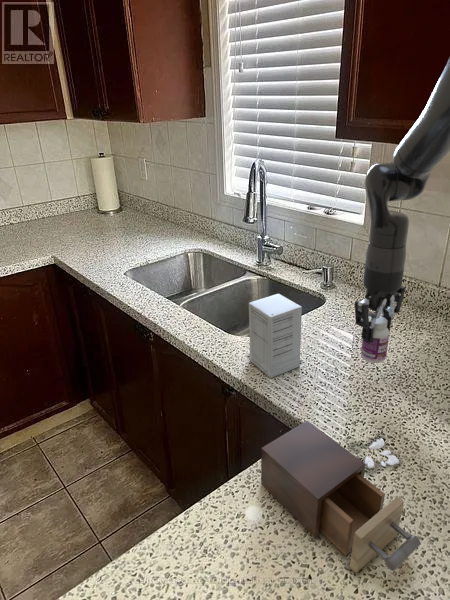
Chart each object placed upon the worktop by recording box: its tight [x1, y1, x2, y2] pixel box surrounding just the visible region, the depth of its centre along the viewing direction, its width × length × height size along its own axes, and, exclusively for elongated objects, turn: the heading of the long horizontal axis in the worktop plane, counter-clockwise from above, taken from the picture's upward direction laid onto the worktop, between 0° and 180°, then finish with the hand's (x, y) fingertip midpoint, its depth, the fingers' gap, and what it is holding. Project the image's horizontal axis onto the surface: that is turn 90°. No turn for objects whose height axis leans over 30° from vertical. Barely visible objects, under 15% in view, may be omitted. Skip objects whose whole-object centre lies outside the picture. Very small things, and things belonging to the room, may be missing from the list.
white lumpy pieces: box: [364, 437, 400, 469], centre depth 83 cm, size 8×7×2 cm
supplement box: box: [248, 293, 303, 379], centre depth 109 cm, size 10×9×17 cm
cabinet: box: [260, 420, 367, 538], centre depth 74 cm, size 13×11×10 cm
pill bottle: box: [360, 315, 390, 364], centre depth 98 cm, size 5×5×10 cm
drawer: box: [319, 473, 422, 574], centre depth 67 cm, size 16×10×8 cm, turn 36°
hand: (375, 336), depth 97 cm, fingers closed on pill bottle, 5 cm apart
